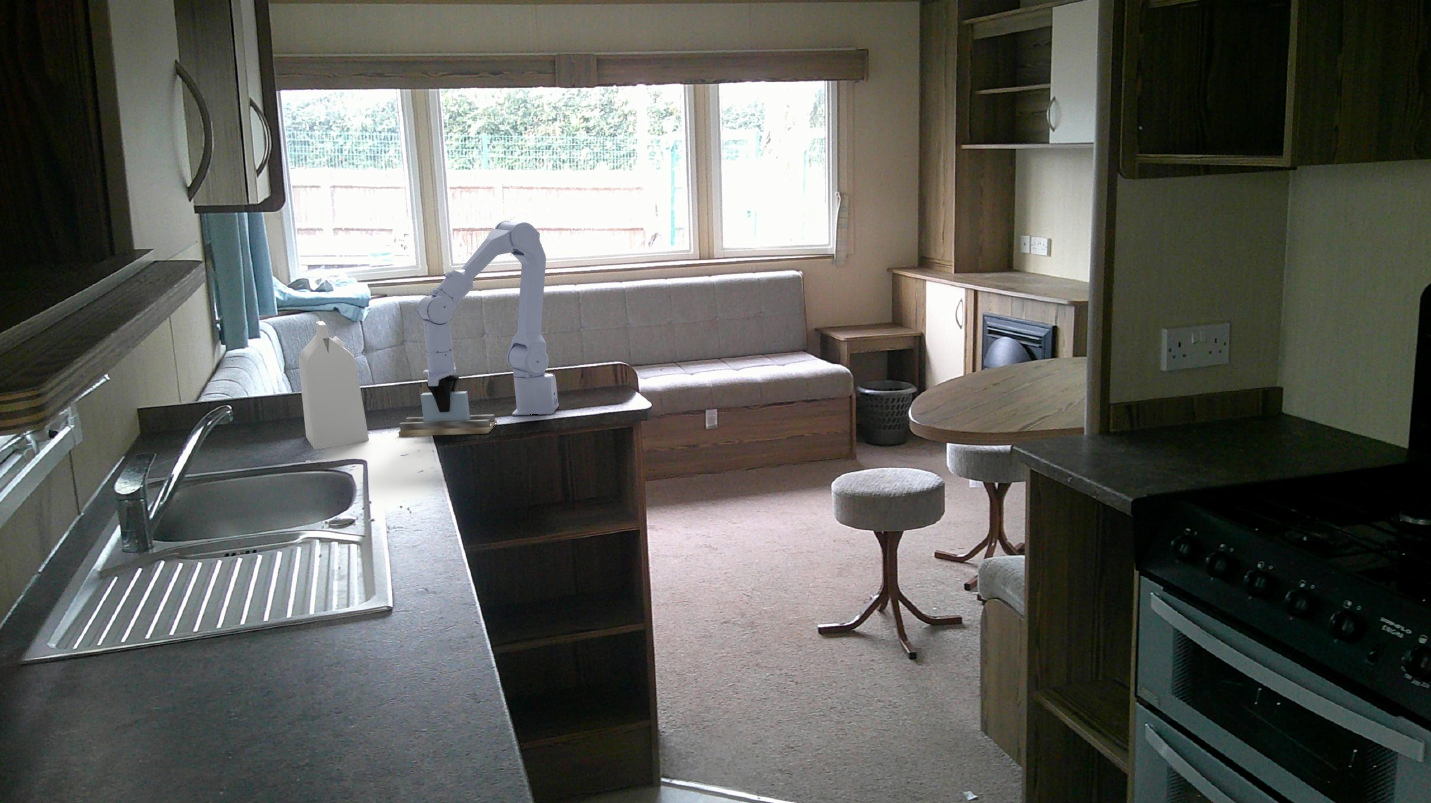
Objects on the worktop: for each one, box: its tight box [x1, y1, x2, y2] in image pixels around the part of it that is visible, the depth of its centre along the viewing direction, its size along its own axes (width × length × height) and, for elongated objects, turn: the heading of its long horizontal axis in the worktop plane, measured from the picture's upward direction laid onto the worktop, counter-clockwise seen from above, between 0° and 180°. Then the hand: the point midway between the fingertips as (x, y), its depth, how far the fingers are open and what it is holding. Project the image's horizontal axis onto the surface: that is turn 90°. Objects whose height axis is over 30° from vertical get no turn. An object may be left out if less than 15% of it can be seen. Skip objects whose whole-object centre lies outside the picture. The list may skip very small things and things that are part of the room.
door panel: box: [420, 390, 471, 422], centre depth 254 cm, size 10×2×7 cm, turn 86°
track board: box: [397, 414, 498, 437], centre depth 255 cm, size 20×8×2 cm, turn 86°
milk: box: [298, 320, 370, 450], centre depth 250 cm, size 12×12×26 cm
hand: (446, 410), depth 254 cm, fingers closed on door panel, 2 cm apart
